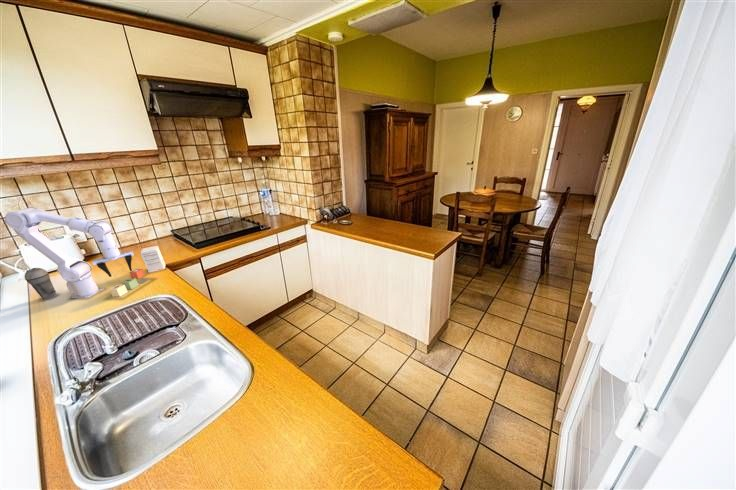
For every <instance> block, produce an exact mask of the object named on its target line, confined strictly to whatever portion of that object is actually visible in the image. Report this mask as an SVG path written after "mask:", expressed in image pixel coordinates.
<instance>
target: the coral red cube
mask: <svg viewBox="0 0 736 490" xmlns="http://www.w3.org/2000/svg"><path fill="white" fill-rule="evenodd" d="M128 273H129V275H130V278H136V279H141V278H142V277H144V276H145V275H146V274H145V271H144V269H143V268H135V269H132V271H129V272H128Z"/></svg>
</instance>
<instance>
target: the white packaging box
mask: <svg viewBox="0 0 736 490" xmlns="http://www.w3.org/2000/svg"><path fill="white" fill-rule="evenodd" d="M140 256H141V258H142V261H143V263H144V265H145V268H146V269H147V272H148V274H149V273H153V272H159V271H163V270H165V269H166V266H167V265H166V262H165V260H164V257H163V255H162V253H161V250H160V248H159V246H158V245H154V246H153V245H152V246H148V247H144V248H141V250H140Z"/></svg>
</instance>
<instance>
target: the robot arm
mask: <svg viewBox="0 0 736 490" xmlns="http://www.w3.org/2000/svg"><path fill="white" fill-rule="evenodd" d="M43 222H45V223H51V224H55V225H62V226H67V227H68V229H70V230H73V231H78V232H81V233H85V234H88V235H89V236H91V237H92V238H93V239H94V240H95V241H96V244H97V245H98V247H99V249H100V251H101V253H102V255H103V257H100V258H97V259H93V260H91V264H90V263H89V262H88V261H84V260H83V259H82V258H79V257H73V256H71V255H70V254H68V253H67V252H66V251H65V250H63V249H62V248H61V247H60V246H58V245H57V244H56V243H54V242H53V241H52V240H51V239H49V238H48V237H47V236H46V235H44V234H43V233H41V232H40V231H39V228H40V225H41V224H42V223H43ZM4 223H5V224H6V225H7V226H9V227H10V228H11V229H12V230H13V231H14V232H15V234H16V235H17V236H18V237H19V238H21V239H22V240H23V241H25V243H27V244H29V245H30V246H31V247H32V248H34V249H35V250H37V251H38V252H40V253H41V254H42V255H43V256H45V257H46V258H47V259H49V260H50V261H52V262H53V263H54V264H55V265H57V268H56V272H57V273H58V274H59V275H60V276H61V278H62V279H63V280H64V281H66V287H67V289H68V291H69V293H70V294H71V296H70V299H88V298H90V297H92V296H94V295H96V294H97V293H100V292H101V291H104V290H105V288H104V287H101V288H100V287H98V284H97V283H96V281H95V278H94V277H93V276H92V270H93V266H97V268H99V269H100V270H102V271H103V272H104V273H106V274H107V276H108V277H109V278H112V274H111V272H110V270H109V268H108V266H107V264H106V263H109V262H112V261H116V260H120V259H124V260H125V263H126V264H127V266H128V269H129V272H131V271H133V268H132V260H133V256H135V254H134V251H133V250H130V251H125V252H124V251H123V252H120V250H119V247H118V245H117V243H116V241H115V239H114V235H113V234H112V230H113V227H112V225H111V224H110V222H107V221H104V220H101V221H96V220H90V219H86V218H83V217H82V216H74V217H72V218H71V217H67V216H64V215H61V214H58V213H57V214H56V213H53V212H50V211H47V210H45V209H44V208H38V207H34V206H29V207H26V208H23V209H19V210H16V211H9V212H7V213H6V214H5V216H4ZM92 265H93V266H92Z"/></svg>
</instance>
